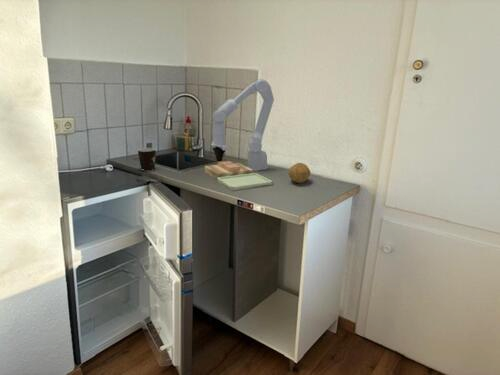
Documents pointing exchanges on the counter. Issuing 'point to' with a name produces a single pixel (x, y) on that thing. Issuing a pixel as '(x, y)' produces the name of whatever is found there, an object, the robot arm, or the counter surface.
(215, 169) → the flat food package
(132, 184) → the counter surface
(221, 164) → the tile rear
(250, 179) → the tray
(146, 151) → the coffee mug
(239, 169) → the tile front
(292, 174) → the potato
